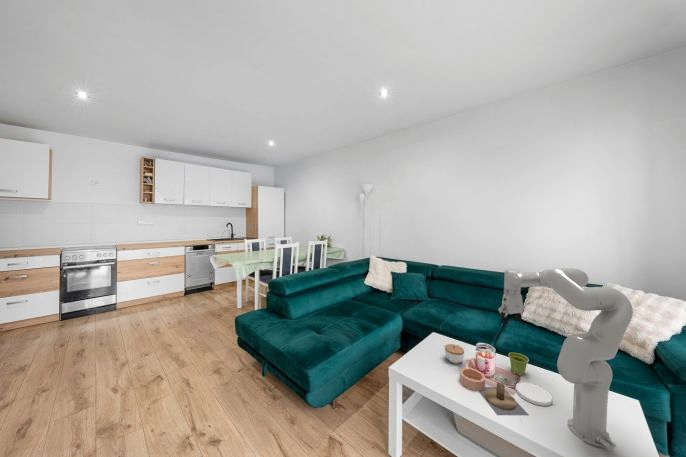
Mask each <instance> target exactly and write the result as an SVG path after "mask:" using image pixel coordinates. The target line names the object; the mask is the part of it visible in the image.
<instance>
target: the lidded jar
mask: <svg viewBox="0 0 686 457" xmlns="http://www.w3.org/2000/svg"><path fill="white" fill-rule="evenodd" d="M444 354H445V357H446V359H447V360H448V361H449V362H450V363H451V364H454V365H457V364H460V363H461V362H462V361H464V360H463V359H464V356H465V348H463V347H462V346H460V345H458V344H454V343H448V344H445V346H444Z"/></svg>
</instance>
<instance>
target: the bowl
mask: <svg viewBox="0 0 686 457" xmlns="http://www.w3.org/2000/svg"><path fill="white" fill-rule="evenodd" d="M459 382H460V384H461V385H462V386H463V387H465V388H466V389H468V390H470V391H474V392H479V391H482V390H483V389H485V387H486V376H485V375H484V373H483V372H481V371H479V370H478V369H474V368H471V367H462V368H461V369H460V372H459Z"/></svg>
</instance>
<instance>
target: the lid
mask: <svg viewBox="0 0 686 457" xmlns="http://www.w3.org/2000/svg"><path fill="white" fill-rule="evenodd" d="M496 387H497V389H488V390H486V392H485V397H486V399H487V400H488V402H490V403H491V404H492V405H494V406H496V407H498V408H500V409H504V410H513V409H515V408H516V402H517V400H516V399H515V398H514V397H513V396H512V395H511V394H510V393H509V392H508V393H509V394H508V393H506V392H505V390H506V389H505V387H506V386H505V384H504V383H502V382H497V383H496Z"/></svg>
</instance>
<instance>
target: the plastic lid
mask: <svg viewBox="0 0 686 457" xmlns="http://www.w3.org/2000/svg"><path fill="white" fill-rule="evenodd" d="M516 390H517V392H516V393H517V394H518V395H519V397H520V398H521V399H524V400H525V401H527V402H529V403H531V404H534V405H536V406H542V407H543V406H544V407H545V406H547V407H548V406H551V405H552V404H553V396H552V395H551V394H550V393H549V392H548V391H547V390H545V389H544V388H542V387H541V386H538V385H536V384H533V383H530V382H518V383H516V385H515V391H516Z"/></svg>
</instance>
